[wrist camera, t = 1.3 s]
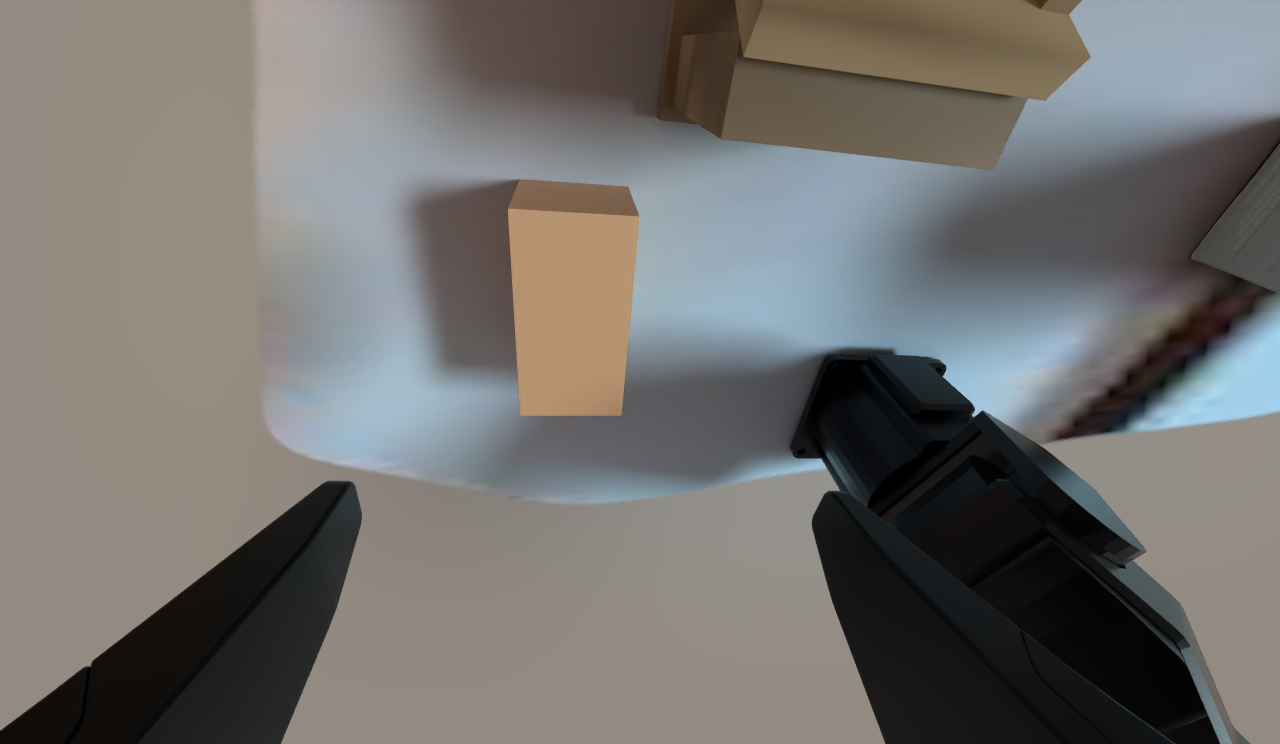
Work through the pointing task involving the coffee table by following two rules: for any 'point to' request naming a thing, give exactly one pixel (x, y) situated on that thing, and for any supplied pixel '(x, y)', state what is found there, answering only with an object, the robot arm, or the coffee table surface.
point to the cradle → (867, 72)
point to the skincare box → (1249, 231)
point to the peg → (572, 295)
